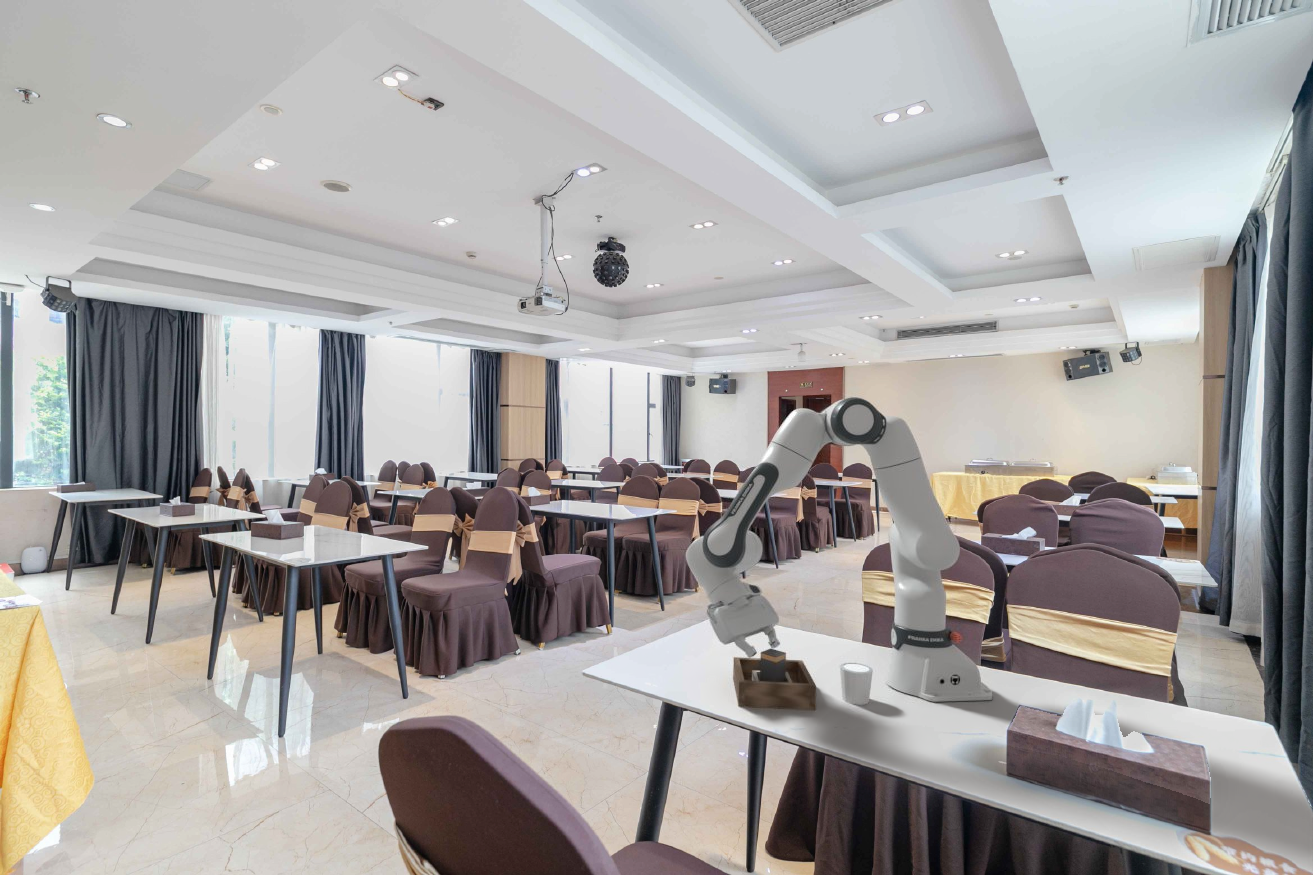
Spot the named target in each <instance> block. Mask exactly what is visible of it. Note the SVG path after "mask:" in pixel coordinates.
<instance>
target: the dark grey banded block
mask: <svg viewBox="0 0 1313 875" xmlns="http://www.w3.org/2000/svg"><path fill="white" fill-rule="evenodd" d="M760 658H761V660H760V681H768V682H785V670H786V660H787V653H786V652H784V651H782V650H781V651H780V650H777V649H775V648H771V647H770V648H768V649H765V650H762V651H760Z"/></svg>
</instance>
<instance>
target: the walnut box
mask: <svg viewBox="0 0 1313 875" xmlns="http://www.w3.org/2000/svg"><path fill="white" fill-rule="evenodd" d="M760 660H761V657H760V658H757V657H756V658H755V657H750V658H749V657H740V656H739V657H738V656H737V657H735V656H733V665H732V666H733V668H732V670H733V672H732V673H733V674H732V681H733V686H734V689H735V690H734V691H735V696H736V700H737V706H738V707H749V708H750V707H752V708H765V709H766V708H767V709H787V710H788V709H789V710H806V711H809V710H810V711H816V709H817V708H816V706H817V704H816V703H817V684H816V683H815V681H814V680H813V677H812V676H811V674H810V672H809V670H808V668H807V666H806V665H805V663H804V661H803V659H802V660H799V659H797V660H796V659H786V670H785V682H768V681H760Z"/></svg>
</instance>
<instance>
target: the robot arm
mask: <svg viewBox="0 0 1313 875" xmlns="http://www.w3.org/2000/svg"><path fill="white" fill-rule="evenodd" d="M827 444H828V445H833V446H838V447H852V446H856V445H860V446H862V447H863V448H864V450H866V452H867V455H868V456H869V458H870V461H871V462H870V463H871V466H872V469H873V472H874V476H875V479H876V482H877V485H878V489H879V492H880V495H881V499H882V502H883V503H884V505H885V506H886V508H887V510H888V512H889V514H890V516H891V519H892V521H893V523H892V524H891V525H890V527H889V529H888V532H887V533H888V534H887V536H888V538H887V539H888V542H889V546H890V547H889V549H890V556H891V558H890V559H891V567H892V575H893V576H892V577H893V581H894V621H892V622H891V624H892V625H891V636H890V637H891V639H890V640H891V646H892V652H891V655H890V656H891V657H890V661H889V662H890V663H889V667H888V671H887V675H886V678H885V683H886V685H888V686H889V687H891V688H892V689H895V690H897V691H899V692H902V693H905V694H908V695H912V696H916V697H918V698H920V699H923V700H926V701H929V702H935V703H938V702H968V701H973V702H975V701H991V700H993V692H992V690H991V688H989V686H987V685H986V684H985V683H983V682H982V680H981V679H982V678H981V673H980V669H979V668H978V666H977V664H976V663H975V662H974V661H973V660H972V659H971V658H970V657H969V656H968V655H966V653H964V652H963V651H962V650H961V649H959V648H958V647H957V646H956V645H955V644H954V642H955V643H957V644H958V643H961V642H962V641H963V636H962V635H961V634H960V633H958V632H957V631H953V630H951V629H950V628H948V627H947V626H946V619H947V616H946V615H947V614H946V611H947V593H946V589H945V587H944V584H943V580H942V574H941V573H942V572H941V571H943V570H947V569H949V568H951V567H953V565H954V564H956V562H957V561H958V559H959V556H960V552H961V549H960V548H961V547H960V542H959V540H958V538H957V536H956V535H955V533H954V532H953V530H952V529H951V526H950V525H949V523H948V521H947V518H946V515H945V514H944V511H943V510H942V508H941V505H940V504H939V502H938V499H937V498H936V495H935V493H934V491H933V488H932V486H931V483H930V480H929V477H928V474H927V470H926V467H925V465H924V461H923V458H922V456H921V455H922V454H921V452H920V449H919V446H918V444H917V441H916V439H915V437H914V435H913V433H912V431H911V429H910V428H909V425H908V424H907V422H906V421H905V420H904V419H903V418H901V417H899V416H892V415H891V416H885V415H883V414H882V413H881V412H880V411H879V410H878V409H877V408H876V406H874V405H873V404H872V403H871V402H869V401H868V400H866V399H864V398H861V397H853V396H851V397H848V398H843V399H839V400H837V401H835V402H833V403H832V404H831V405H828V406H827V407H825V408H824V409H822V410H821V411H819V412H817V411H815V410H812V409H810V408H805V407H804V408H796V409H793V411H791V412H790V413H789V414H788V416H787V417H786V418H785V419H784V420H783V421H782V424H781V425H780V426H779V427H778V429H777V431H776V432H775V434H774V435H773V437H772V439H771V441H770V443H769V445H768V446H767V448H766V450H765V452H764V453H763V455H762V456H761V458H760V459H759V461H758V464H757V465H756V466H755V467H754V469H753V470H752V471H751V473H750V474H749V476H748V477H747V478H746V480H745V481H744V483H743V484H742V486H741V487H740V489H739V491H738V492H737V494H736V496H734V498H733V500H732V501H731V503H730V504H729V506H728V508H726V511H725V512H724V513H723V515H722V516H721V517H720V518H719V519H718V520H716V521H715V522H714V523H712V525H710V526H709V527H708V528H707V529H706V531H705V533H704V535H701V536H699V537H697V538H696V539H694V540H693V541H692V542H691V543H690V544H689V546H688V547H687V550H685V551H686V552H685V559H686V563H687V566H688V567H689V569H690V571H691V573H692V575H693V576H694V579H695V580H696V582H697V583H698V585H699V586H700V587H702V588H703V590H704V592H705V594H706V597H707V599H708V601H709V602H710V604H708V605H707V608H706V611H705V612H706V614H707V616H708V618H709V623H710V625H711V627H712V630H713V631H714V633H715V635H716V638H717V639H718V641H719V642H720V643H722V644H723V645H724V646H725V645H729V644H731V643H734V644H735V645H736V647H738V649H740V650H741V651H743V652H744V653H745V655H746V657H747V658H754V656H755V655H757V653H758V652H757V650H756V649H755V646H754V645H750V643H748V642H747V641H746V639H747V638H748V637H749V638H750V637H752V636H754V635H755V636H756V635H758V634H760V633H763V634H764V635H765V636H767V638H768V642H767V643H768V646H770V648H771V649H775V648H778V647H779V646H780V645H781V643H780V641H779V639H778V638H777V634H776V629H775V626H777V624H778V623H779V622H780V619H779V618H780V617H779V615H778V613H777V611H776V610H775V608H774V607H773V606H772V604H771V603H770V601H769V599H767V598H766V597H765V596H764V595H762V594H763V590H762V588H761V587H760V586H759V585H757V584H756V585H755V584H751V583H747V582H744V581H743V582H742V580H741V578H740V577H739V575H740V574H741V573H743V572H745V571H746V572H747V571H748V570H750V569H751V568H753V567H755V566H756V565H757V564H758V563H759V562H760V560H761V559H762V556H763V553H764V545H763V541H762V540H761V538H760V537H759V536H758V535H757V534H756V533H755V532H754V531H751V530H749V529H750V528H751V525H753V523H754V521H755V519H756V518H757V516H758V514H759V513H760V512H761V510H762V508H763V506H765V504H766V503H767V501H768V500H769V499H770V498H771V497H772V496H774V495H776V494H778V493H779V492H783V491H786V490H787V491H788V490H791V489H794V488H795V487H797V486H799V484H800V483H801V482H802V481H803V479H804V478H805V477H806V476H807V475H808V472H809V471H810V469H811V467H812V465H813V464H814V462H815V460H816V459H817V455H818V453H819V452H820V451H821V450H822V448H824V446H825V445H827Z"/></svg>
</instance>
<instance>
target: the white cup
mask: <svg viewBox="0 0 1313 875" xmlns="http://www.w3.org/2000/svg"><path fill="white" fill-rule="evenodd" d="M839 670H840V672H839V673H840V687H841V688H840V689H841V698H842V700H843V701H844V702H845V703H848V704H852V705H857V706H862V705H863V706H864V705H867V704H869V702H870V697H871V689H872V682H873V681H872V680H873V679H872V678H873V668H872V667H870V666H869V665H867V664H863V663H857V662H844V663H840V665H839Z"/></svg>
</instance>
